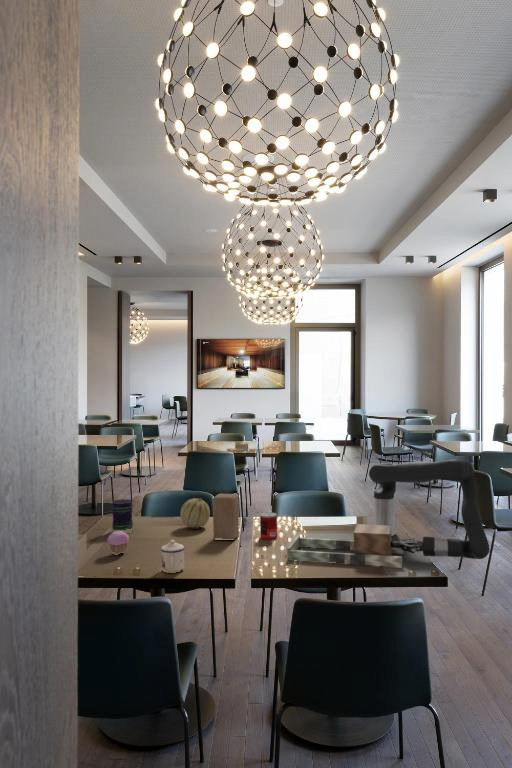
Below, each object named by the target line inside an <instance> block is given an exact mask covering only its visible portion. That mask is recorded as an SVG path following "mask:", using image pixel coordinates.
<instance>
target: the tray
mask: <svg viewBox="0 0 512 768" xmlns="http://www.w3.org/2000/svg"><path fill="white" fill-rule="evenodd" d="M299 547H315V548H314V549H316V548H333V549H334V548H335V549H345V550H344V551H351V550H354V539H353V540H351V539H350V540H347V539H333V538H332V539H331V538H311V537H301V535H300V534H299V535H298V534H297V535H296V536H295V537H294V539H293V540H292V541H291V543H290V544H289V545H288V547H287V548H286V550H287V552H286V553H287V554H286V559H287V560H297V561H296V562H302V561H317V562H336V563H345V564H344V565H349V564H359V565H358V566H364V565H376V566H375V567H380V566H385V568H397V569H399V568H400V569H401V568H403V556H399V555H398V556H396V555H391V556H382V555H365V554H354V553H345V552H328V551H311V550H299V549H300V548H299ZM298 548H299V549H298ZM333 549H332V550H333ZM391 549H392V554H404V551H403V550H402V549H400V548H391ZM317 562H316V563H317Z"/></svg>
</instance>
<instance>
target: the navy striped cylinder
mask: <svg viewBox="0 0 512 768" xmlns="http://www.w3.org/2000/svg"><path fill="white" fill-rule="evenodd" d="M111 504H112V505H111V512H112V513H111V514H112V526H111V527H112V530H113V529H114V530H126V529H131V528H132V527H133V528H134V522H133V500H132V499H116V500H113V501H112V502H111Z"/></svg>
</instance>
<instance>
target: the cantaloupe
mask: <svg viewBox="0 0 512 768" xmlns="http://www.w3.org/2000/svg"><path fill="white" fill-rule="evenodd" d="M210 516H211V510H210V506H209V504H208V503H207V501H205V500H203V498H202V497H200V498H197V497H196V498H195V497H194V498H190V499H188V500H186V501H185V502H184V504H182V506H181V509H180V519H181V522H182V523H183V524H184V525H185V526H187V527H188V526H189V527H188V528H190V527H201V526H203V527H204V526H206V525H207V523H208V522H209V520H210ZM201 528H202V527H201Z"/></svg>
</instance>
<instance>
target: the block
mask: <svg viewBox="0 0 512 768" xmlns="http://www.w3.org/2000/svg"><path fill="white" fill-rule="evenodd" d="M212 521H213V522H212V524H213V525H212V526H213V539H214V538H222V539H235V538H236V537H237V536H238V537H239V534H240V531H239V529H240V528H239V526H240V523H239V495H238V494H237V493H218V494H217V495H215V496H213V498H212ZM238 537H237V538H238ZM237 538H236V539H237ZM236 539H235V540H236Z"/></svg>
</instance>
